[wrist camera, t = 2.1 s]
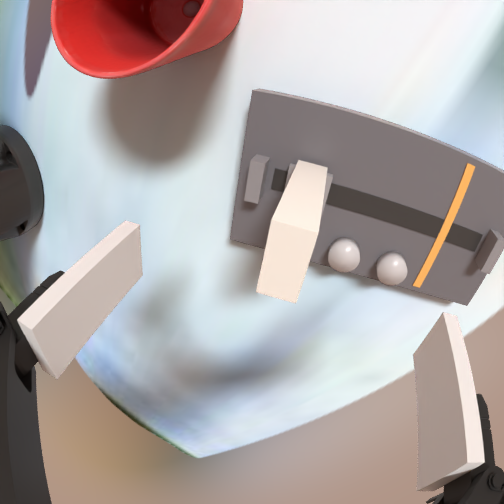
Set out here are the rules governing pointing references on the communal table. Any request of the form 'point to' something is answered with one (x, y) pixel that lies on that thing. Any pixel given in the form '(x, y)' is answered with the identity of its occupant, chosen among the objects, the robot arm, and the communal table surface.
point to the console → (375, 196)
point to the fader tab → (294, 231)
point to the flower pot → (137, 32)
